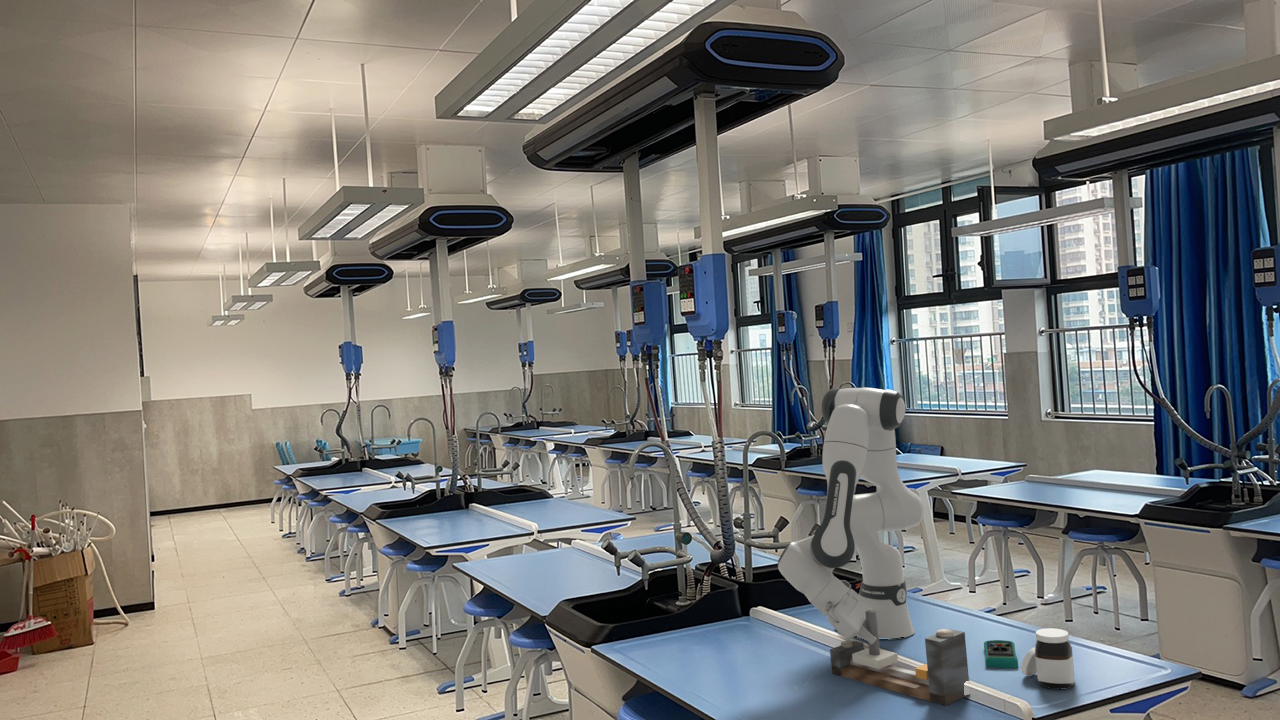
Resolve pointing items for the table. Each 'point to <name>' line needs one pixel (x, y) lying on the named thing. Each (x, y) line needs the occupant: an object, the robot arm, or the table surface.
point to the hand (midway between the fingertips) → (875, 638)
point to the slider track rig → (942, 665)
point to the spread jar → (1050, 659)
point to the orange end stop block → (922, 672)
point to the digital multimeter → (1000, 654)
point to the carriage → (874, 647)
